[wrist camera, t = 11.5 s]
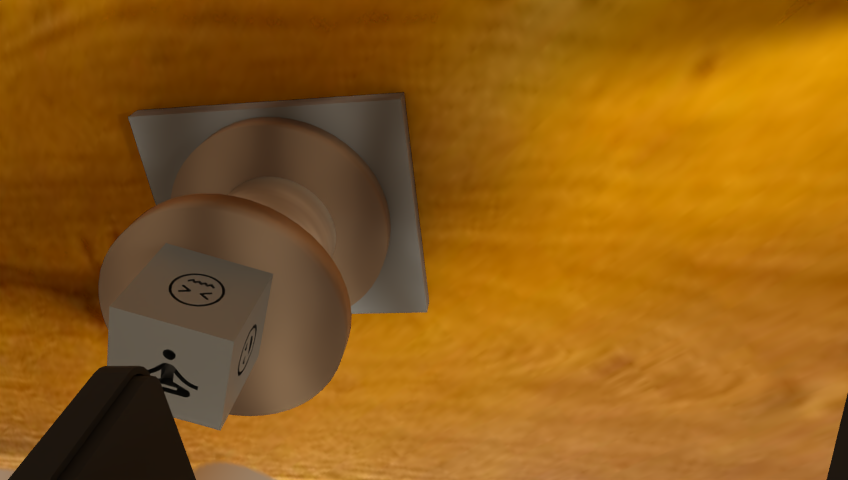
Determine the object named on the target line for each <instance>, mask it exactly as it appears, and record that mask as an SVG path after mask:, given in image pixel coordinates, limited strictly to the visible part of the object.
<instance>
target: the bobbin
mask: <svg viewBox="0 0 848 480" xmlns="http://www.w3.org/2000/svg"><path fill="white" fill-rule="evenodd" d="M128 119H129V122H130V125H131V128H132V131H133V134H134V137H135V141H136V144H137V147H138V150H139V153H140V156H141V159H142V163H143V166H144V169H145V172H146V175H147V178H148V181H149V185H150V188H151V191H152V194H153V197H154V200H155V203H156V206H154V207H152V208H151V209H149V210H147V211H146V212H144V213H143V214H142V215H141V216H140V217H139V218H138V219H136V220H135V221H134V222H133V223H132V224H131V225H130V226H129V227H128V228H127V229H126V230H125V231H124V232H123V233H122V234H121V235H120V236H119V237H118V238H117V239H116V241H115V242H114V243H113V244H112V246H111V247H110V249H109V251H108V253H107V254H106V256H105V258H104V261H103V264H102V267H101V270H100V277H99V301H100V306H101V311H102V314H103V317H104V320H105V323H106V326H107V328H108V330H109V306H110V305H111V304H112V303H113V302H114V301H115V299H116V298H117V297H118V296H119V295H120V294H121V293H122V292H123V291H124V289H125V288H126V287H127V286H128V285H129V284H130V283H131V282H132V280H133V279H134V278H135V277H136V276H137V275H138V274H139V273H140V272H141V270H142V269H143V268H144V267H145V266H146V265H147V264H148V263H149V261H150V260H151V259H152V258H153V257H154V256H155V255H156V254H157V252H158V251H159V250H160V249H161V248H162V247H163V246H164V245H165V244H166V243H167V244H171V245H174V246H178V247H181V248H185V249H188V250H192V251H195V252H199V253H202V254H206V255H209V256H213V257H216V258H220V259H223V260H227V261H230V262H234V263H237V264H241V265H244V266H248V267H251V268H255V269H258V270H262V271H265V272H269V273H272V274H273V278H272V283H271V289H270V295H269V300H268V306H267V311H266V317H265V322H264V328H263V334H262V339H261V345H260V350H259V356H258V358H257V360H256V362H255V364H254V366H253V368H252V370H251V372H250V374H249V376H248V378H247V380H246V381H245V383H244V385H243V387H242V389H241V391H240V393H239V395H238V397H237V399H236V401H235V403H234V405H233V407H232V409H231V411H230V413H229V414H230V415H241V416H258V415H268V414H274V413H279V412H283V411H286V410H290V409H292V408H294V407H297V406H299V405H301V404H303V403H305V402H306V401H308V400H310V399H311V398H313V397H314V396H315V395H317V394H318V393H319V392H320V391H321V390H323V388H324V387H325V386H326V385H327V384H328V383H329V382H330V380H331V379H332V377H333V376H334V374H335V372H336V371H337V369H338V366H339V364H340V361H341V359H342V356H343V353H344V350H345V347H346V344H347V341H348V338H349V333H350V329H351V314H355V313H411V312H427V309H428V304H429V297H428V289H427V281H426V272H425V264H424V256H423V247H422V239H421V230H420V222H419V214H418V205H417V197H416V189H415V180H414V172H413V164H412V155H411V147H410V139H409V130H408V122H407V113H406V105H405V97H404V92H403V93H388V94H373V95H358V96H343V97H328V98H313V99H298V100H283V101H268V102H253V103H238V104H223V105H208V106H193V107H178V108H163V109H148V110H137V111H136V112H134V113H133V114H132V115H130V116H129V117H128Z"/></svg>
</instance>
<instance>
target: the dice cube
mask: <svg viewBox="0 0 848 480" xmlns="http://www.w3.org/2000/svg"><path fill="white" fill-rule="evenodd" d="M272 278H273V274H272V273H269V272H265V271H262V270H258V269H255V268H251V267H248V266H244V265H241V264H237V263H234V262H230V261H227V260H223V259H220V258H216V257H213V256H209V255H206V254H202V253H199V252H195V251H192V250H188V249H185V248H181V247H178V246H174V245H171V244H167V243H166V244H165V245H164V246H163V247H162V248H161V249H160V250H159V251H158V252H157V254H156V255H155V256H154V257H153V258H152V259H151V260H150V261H149V263H148V264H147V265H146V266H145V267H144V268H143V269H142V270H141V272H140V273H139V274H138V275H137V276H136V277H135V278H134V279H133V280H132V282H131V283H130V284H129V285H128V286H127V287H126V288H125V289H124V291H123V292H122V293H121V294H120V295H119V296H118V297H117V298H116V299H115V301H114V302H113V303H112V304H111V305H110V306H109V332H108V361H107V366H142V367H145V368H146V369H147V370H148V371H149V373H150V375H151V376H156V377H157V378H158V379H159V381H160V383H161V385H162V388H163V391H164V393H165V396H166V399H167V402H168V404H169V407H170V410H171V413H172V415H173V417H174V418H178V419H181V420H185V421H189V422H192V423H196V424H199V425H203V426H206V427H210V428H214V429H217V430H221V428H222V426H223V424H224V422H225V421H226V419H227V417H228V415H229V413H230V411H231V409H232V407H233V405H234V403H235V401H236V399H237V397H238V395H239V393H240V391H241V389H242V387H243V385H244V383H245V381H246V380H247V378H248V376H249V374H250V372H251V370H252V368H253V366H254V364H255V362H256V360H257V358H258V356H259V350H260V345H261V339H262V334H263V328H264V322H265V317H266V311H267V306H268V300H269V295H270V289H271V283H272Z"/></svg>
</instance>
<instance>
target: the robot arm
mask: <svg viewBox="0 0 848 480" xmlns="http://www.w3.org/2000/svg"><path fill="white" fill-rule="evenodd" d="M8 480H196V479H195V476H194V473H193V470H192V467H191V465H190V462H189V459H188V456H187V454H186V451H185V448H184V445H183V443H182V440H181V437H180V435H179V432H178V429H177V426H176V424H175V421H174V418H173V415H172V413H171V410H170V407H169V404H168V402H167V399H166V396H165V393H164V391H163V388H162V385H161V383H160V381H159V379H158V378H157V377H156V376H151V375H150V373H149V371H148V370H147V369H146V368H145V367H142V366H104V367H101V368H99V369H98V370H97V371H96V372H95V373H94V374H93V375H92V377H91V378H90V379H89V380H88V382H87V383H86V384H85V385H84V386H83V388H82V389H81V390H80V391H79V393H78V394H77V395H76V396H75V398H74V399H73V400H72V401H71V403H70V404H69V405H68V406H67V407H66V409H65V410H64V411H63V412H62V414H61V415H60V416H59V417H58V419H57V420H56V421H55V422H54V424H53V425H52V426H51V427H50V429H49V430H48V431H47V432H46V433H45V435H44V436H43V437H42V438H41V440H40V441H39V442H38V443H37V445H36V446H35V447H34V448H33V450H32V451H31V452H30V453H29V454H28V456H27V457H26V458H25V459H24V461H23V462H22V463H21V464H20V466H19V467H18V468H17V469H16V471H15V472H14V473H13V474H12V476H11V477H10V478H9V479H8ZM827 480H848V394H847V398H846V403H845V407H844V411H843V415H842V419H841V423H840V427H839V431H838V435H837V440H836V444H835V448H834V452H833V456H832V460H831V464H830V468H829V473H828V477H827Z"/></svg>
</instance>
